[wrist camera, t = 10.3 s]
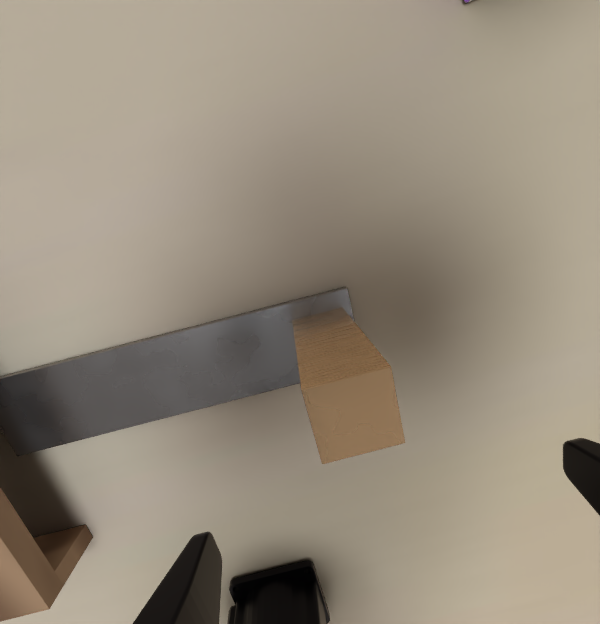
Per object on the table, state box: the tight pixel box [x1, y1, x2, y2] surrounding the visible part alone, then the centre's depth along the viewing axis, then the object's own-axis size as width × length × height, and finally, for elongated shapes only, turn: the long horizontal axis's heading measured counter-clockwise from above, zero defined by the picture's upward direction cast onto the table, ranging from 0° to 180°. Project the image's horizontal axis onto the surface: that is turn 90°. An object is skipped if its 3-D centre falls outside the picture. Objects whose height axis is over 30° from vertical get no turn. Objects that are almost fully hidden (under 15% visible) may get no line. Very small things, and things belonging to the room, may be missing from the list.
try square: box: [0, 287, 405, 464], centre depth 15 cm, size 22×5×9 cm, turn 104°
